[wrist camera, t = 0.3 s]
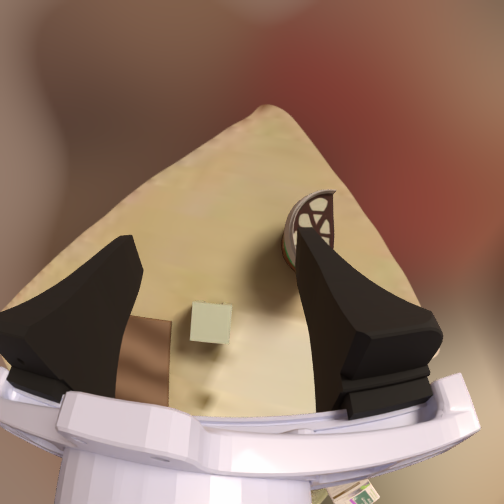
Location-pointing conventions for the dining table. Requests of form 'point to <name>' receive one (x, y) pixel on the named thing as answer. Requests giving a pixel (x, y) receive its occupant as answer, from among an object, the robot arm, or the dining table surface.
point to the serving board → (144, 361)
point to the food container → (309, 222)
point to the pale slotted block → (211, 322)
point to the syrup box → (353, 493)
